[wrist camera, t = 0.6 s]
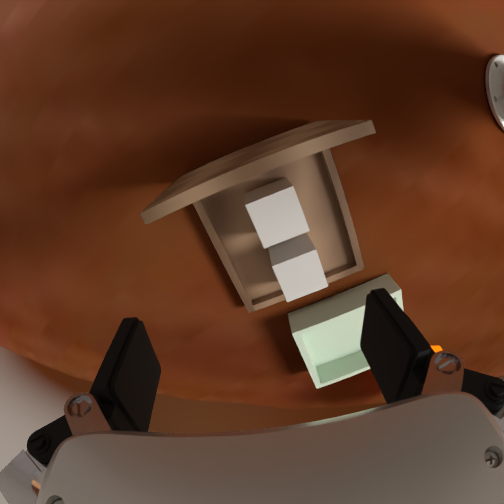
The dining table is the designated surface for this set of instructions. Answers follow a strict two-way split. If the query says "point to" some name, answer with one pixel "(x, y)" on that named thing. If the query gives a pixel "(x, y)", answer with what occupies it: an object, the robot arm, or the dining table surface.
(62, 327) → the dining table surface
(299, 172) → the brown hollow box
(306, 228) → the stone cube
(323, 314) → the sage bin
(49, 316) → the dining table surface
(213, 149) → the dining table surface
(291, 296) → the stone cube
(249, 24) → the dining table surface
